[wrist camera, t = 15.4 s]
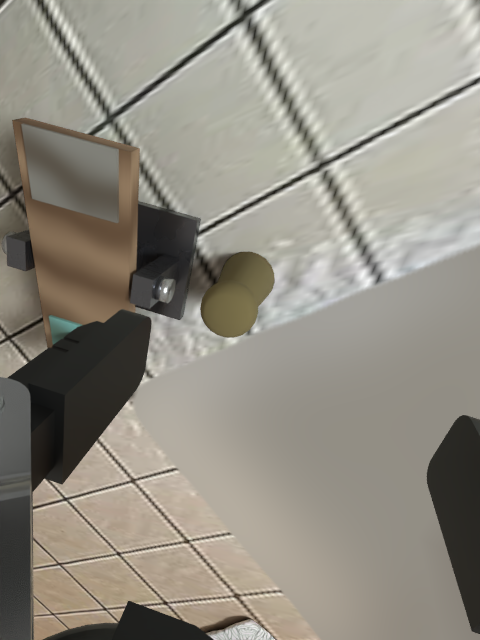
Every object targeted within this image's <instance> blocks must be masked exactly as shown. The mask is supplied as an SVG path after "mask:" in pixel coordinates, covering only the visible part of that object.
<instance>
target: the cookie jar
mask: <svg viewBox="0 0 480 640" xmlns="http://www.w3.org/2000/svg"><path fill="white" fill-rule="evenodd" d="M206 634H207V635H209V636H210V637H211V638H213V639H214V640H275V639H274V638H273V637H272V636H271V635H270V634H269V632H268V631H266V630H265V629H264V628H263V627H262V626H260V625H259V624H258V623H256V622H255V621H253V620H251V619H248V620H246V621H243V622H239V623H235V624H233V625H231V626H229V627H227V628H225V629H223V630H218V631H211V632H208V633H206Z"/></svg>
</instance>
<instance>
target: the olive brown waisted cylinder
mask: <svg viewBox="0 0 480 640" xmlns="http://www.w3.org/2000/svg"><path fill="white" fill-rule="evenodd" d="M273 285H274V272H273V269H272V267H271V265H270V264H269V263H268V261H267V260H266V259H265V258H263V257H262V256H260V255H259V254H256V253H253V252H240V253H238V254H235V255H233V256H232V257H231V258H229V259H228V260H227V262H226V263H225V265H224V267H223V269H222V272H221V275H220V277H219V280H218V283H216V284H214V285H213V286H212V287H211V288H209V289H208V290H207V291H206V293H205V295H204V296H203V298H202V303H201V308H200V310H201V317H202V319H203V321H204V323H205V325H206V326H207V327H208V328H209V329H210V330H211V331H212V332H214V333H215V334H217V335H220V336H223V337H237V336H241V335H243V334H244V333H246V332H247V331H248V330H250V329H251V327H252V326H253V324H254V323H255V321H256V318H257V314H258V306H259V305H260V304H261V303H262V302H263V301H264V300H265V298H266V297H267V296H268V295H269V293H270V292H271V291H272V289H273Z"/></svg>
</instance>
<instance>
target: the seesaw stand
mask: <svg viewBox="0 0 480 640" xmlns="http://www.w3.org/2000/svg"><path fill="white" fill-rule="evenodd" d="M200 220H201V219H200V218H196V217H193V216H189V215H186V214H182V213H179V212H175V211H171V210H168V209H164V208H161V207H157V206H154V205H150V204H147V203H143V202H140V201H138V225H137V262H136V273H134V274H133V281H132V290H131V299H130V303H131V304H135V307H138V308H142V309H145V310H148V311H152V312H155V313H158V314H161V315H165V316H168V317H171V318H174V319H178V320H180V319H181V318H182V317H183V314H184V308H185V303H186V297H187V292H188V286H189V281H190V275H191V270H192V264H193V259H194V253H195V248H196V242H197V237H198V231H199V226H200ZM2 249H3V252H4V253H5V254H7V266H10V267H14V268H17V269H20V270H23V271H28V270H30V269H33V268H35V263H34V257H33V250H32V244H31V237H30V231H29V230H27V231H23V232H20V233H16V232H9V233H7V234H6V235H5V236H4V238H3V241H2Z"/></svg>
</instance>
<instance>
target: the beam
mask: <svg viewBox="0 0 480 640" xmlns="http://www.w3.org/2000/svg"><path fill="white" fill-rule="evenodd" d="M12 121H13V128H14V134H15V140H16V147H17V153H18V160H19V166H20V173H21V179H22V186H23V192H24V198H25V205H26V211H27V218H28V224H29V231H30V237H31V244H32V250H33V257H34V263H35V269H36V276H37V282H38V289H39V295H40V302H41V308H42V315H43V321H44V327H45V334H46V340H47V347H48V348H49V347H50V348H52V345H53V344H55V343H56V342H58V341H59V340H60V339H64V337H65V336H66V335H67V334H69V333H70V332H71V331H73V330H74V329H76V328H77V327H79V326H82V325H85V324H88V323H91V322H95V321H99V322H103V323H104V322H105V321H107V320H108V319H109V318H111V317H112V316H113V315H114V314H116V313H117V312H118V311H119V310H121V309H124V310H128V311H131V312H134V313H135V304H131V303H130V299H131V290H132V281H133V274H134V273H136V262H137V225H138V188H139V151H140V148H136V147H132V146H129V145H125V144H121V143H117V142H114V141H110V140H106V139H103V138H99V137H95V136H91V135H88V134H84V133H80V132H77V131H73V130H69V129H65V128H62V127H58V126H54V125H51V124H47V123H43V122H39V121H36V120H32V119H28V118H21V119H16V120H12Z"/></svg>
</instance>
